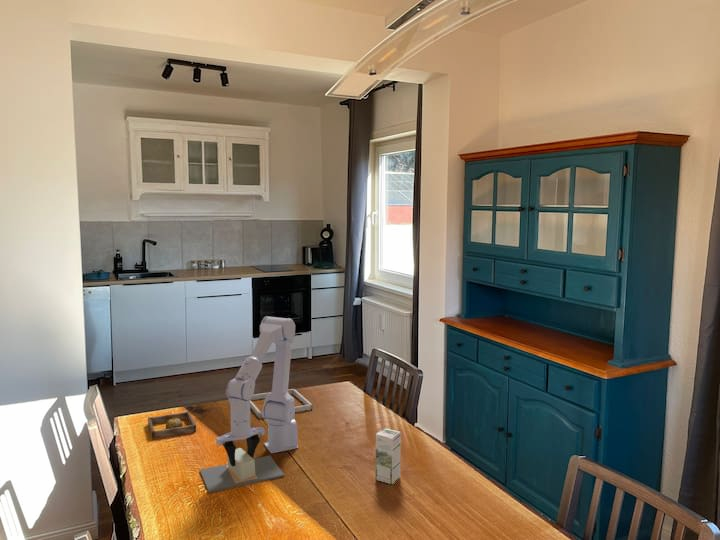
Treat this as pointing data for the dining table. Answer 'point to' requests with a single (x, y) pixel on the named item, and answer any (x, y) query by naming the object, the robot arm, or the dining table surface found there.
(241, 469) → the block
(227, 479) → the mat
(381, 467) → the syrup box
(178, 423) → the fruit
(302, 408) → the box rim
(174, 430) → the fruit rim
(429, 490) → the dining table surface
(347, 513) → the dining table surface
